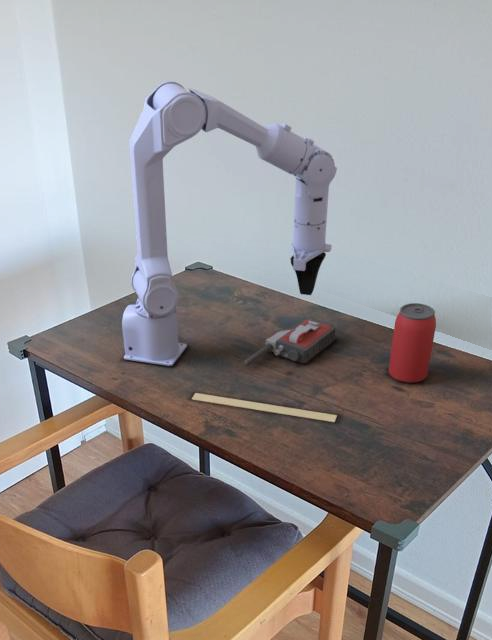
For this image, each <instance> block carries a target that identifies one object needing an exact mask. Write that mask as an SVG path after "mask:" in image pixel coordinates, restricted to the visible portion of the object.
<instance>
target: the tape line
mask: <svg viewBox="0 0 492 640" xmlns="http://www.w3.org/2000/svg"><path fill="white" fill-rule="evenodd" d="M192 400H193V401H199V402H205V403H212V404H218V405H224V406H231V407H237V408H242V409H249V410H256V411H260V412H261V411H262V412H267V413H272V414H273V413H274V414H279V415H287V416H292V417H298V418H305V419H311V420H317V421H324V422H329V423H335V422H336V420H337V417H338V415H337V414H331V413H324V412H319V411H314V410H313V411H312V410H306V409H299V408H294V407H287V406H280V405H274V404H269V403H263V402H256V401H249V400H243V399H236V398H230V397H225V396H218V395H211V394H207V393H206V394H205V393H199V392H195V393H194V394H193V396H192V397H191V401H192Z"/></svg>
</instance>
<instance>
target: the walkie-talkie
mask: <svg viewBox="0 0 492 640" xmlns="http://www.w3.org/2000/svg"><path fill="white" fill-rule="evenodd" d="M335 340H336V326H335V324H334V323H331V322H328V321H325V320H321V319H317V318H314V317H313V318H312V317H310V318H307V319H305V320H303V321H301V322H300V323H299V324H298V325H295V327H294V328H292V329H288V330H287V329H286V330H281V331H278V332H276V333H275V334H273V335H271V336H270V337H268V338H266V339H265V340H264V341H265V342H264V343H265V344H264V346H262V348H260V349H259V350H258V351H256V352H255V353H253V354H252V355H250V356H249V357H247V358H246V359H245V360H244V361H243V365H244V366H245V367H248V366H250V365H251V364H252V363H254V362H255V361H257V360H258V359H259V358H261V357H263V356H264V355H265V354H267V353H269V352H272V353H273V354H274V355H275V356H277V357H281V358H284V359H286V360H290V361H292V362H297V363H300V364H306V363H308V362H309V361H310V360H312V359H313V358H314V357H315V356H317V355H318V354H320V352H322V351H324V349H325V348H327V347H328V346H329V345H331V344H332V343H333V342H334V341H335Z"/></svg>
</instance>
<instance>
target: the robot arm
mask: <svg viewBox="0 0 492 640" xmlns="http://www.w3.org/2000/svg"><path fill="white" fill-rule="evenodd" d="M187 89H188V90H187ZM187 89H186V88H185V87H184V86H183V85H182V84H180V83H178V82H176V81H171V80H170V81H165V82H162V83H160V84H159V85H158V86H156V87H155V88H154V89H153V91H152V92H150V93H149V94H148V95H147V96H146V97H145V99H144V105H143V109H142V111H141V113H140V116H139V118H138V120H137V123H136V124H135V128H134V130H133V132H132V134H131V136H130V139H129V144H128V145H129V157H130V158H129V159H130V171H131V184H132V185H131V186H132V198H133V210H134V220H135V222H134V223H135V224H134V225H135V238H136V248H137V249H136V252H137V254H136V256H135V257H134V270H133V272H132V275H131V279H130V282H131V283H130V284H131V287H132V289H133V291H134V292H135V293H136V296H137V300H136V302H135V304H128V305H127V306H126V308H125V309H124V312H123V314H122V319H121V325H122V326H121V329H122V339H123V346H124V347H123V348H124V355H123V359H124V360H125V361H134V362H140V363H145V364H146V363H147V364H153V365H160V366H166V367H173V366H174V364H175V363H176V362H177V360H178V359H179V358H180V357H181V355H182V354H183V353H184V351H185V350H186V349H187V348H188V345H187V344H186V343H183V342H179V328H178V312H177V311H178V310H177V306H178V304H179V299H180V297H179V292H178V290H177V288H176V286H175V285H174V282H173V281H174V280H173V272H172V268H171V265H170V264H171V263H170V261H169V256H168V238H167V237H168V235H167V234H168V233H167V219H166V218H167V217H166V200H165V199H166V198H165V181H164V178H165V177H164V158H165V157H166V156H167V155H168V154H169V153H170V152H171V151H172V150H173V149H174V148H175V147H176V146H178V145H180V144H181V143H184V142H186V141H188V140H190V139H191V138H192V139H193V138H194V137H195V136H197V134H199V133H200V132H201V130H202V131H203V132H204V133H210V132H211V131H214V130H216V129H220V130H222V131H224V132H226V133H229V134H230V135H232V136H234V137H236V138H239V139H240V140H242V141H244V142H247V143H248V144H251V145H253V146H255V150H256V154H257V156H258V158H259V159H260V160H262V161H264V162H266V163H268V164H270V165H272V166H274V167H276V168H278V169H280V170H282V171H283V172H285V173H287V174H289V175H291V176H292V175H293V176H294V177H295V181H294V182H295V184H294V205H293V227H292V228H293V229H292V230H293V231H292V243H291V252H292V255H291V256H290V265H291V266H292V270H293V271H294V273H295V276H296V279H297V285H298V290H299V294H300V295H305V296H312V295H313V292H314V290H315V287H316V282H317V278H318V274H319V271H320V268H321V266H322V263H323V261H324V260H325V258H326V256H327V253H330V252H331V251H332V250H333V249H332V248H333V245H332V244H330V243H329V244H328V243H326V237H327V222H328V206H329V191H330V185H331V183H332V181H333V180H334V179H335V176H336V174H337V170H338V168H337V166H335V165H336V164H335V160H334V158H333V156H332V155H331V154H330V152H328V151H326V150H324V149H323V148H321V147H320V146H319V145H317V144H315V141H314V140H313V139H312V138H310V137H306V138H303V137H302V136H300V135H298V134H297V133H294V132H293V131H291V130H292V127H291V126H290V125H288V124H287V123H285V122H281V124H279V123H276V122H274V123H271V124H268V125H265V126H263V125H262V124H260V123H259V122H256V121H254V120H253V119H251V118H250V117H248V116H246V115H244V114H243V113H242V112H239V111H238V110H236V109H234V108H233V107H231V106H230V105H227V104H226V103H224V102H223V101H222V100H219V99H218V98H216V97H214V96H212V95H209V94H207V93H204V92H202V91H199V90H196V89H194V88H190V87H187Z"/></svg>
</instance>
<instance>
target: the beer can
mask: <svg viewBox="0 0 492 640" xmlns="http://www.w3.org/2000/svg"><path fill="white" fill-rule="evenodd" d="M435 314H436V311H435V309H434V308H432V306H430V305H427V304H423V303H417V302H413V303H412V302H411V303H406V304H404V305H402V306H401V307H400V309H399V311H398V313H397V315H396V318H395V321H394V328H393V334H392V335H393V336H392V341H391V349H390V356H389V357H390V358H389V365H388V373H389V375H390V377H391V378H393V380H396V381H398V382H401V383H404V384H416V383H420V382H422V381H423V380H425V379H426V378H427V376H428V374H429V369H430V368H429V367H430V362H431V356H432V351H433V345H434V339H435V333H436V327H437V319H436V316H435Z"/></svg>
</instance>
